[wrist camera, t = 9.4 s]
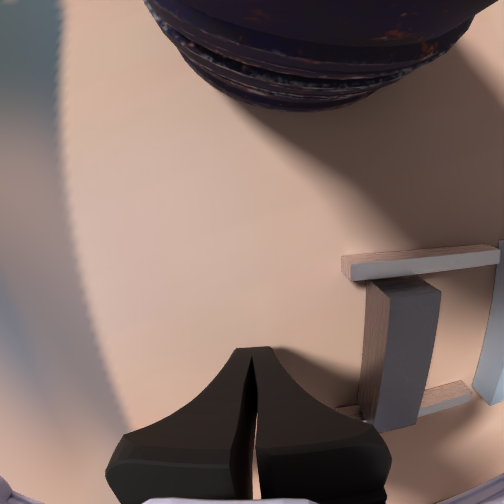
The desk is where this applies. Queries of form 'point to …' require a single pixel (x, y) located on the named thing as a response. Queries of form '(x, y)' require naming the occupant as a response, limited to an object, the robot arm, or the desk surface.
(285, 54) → the storage jar
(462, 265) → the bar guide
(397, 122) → the desk surface
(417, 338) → the bar
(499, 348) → the socket block
